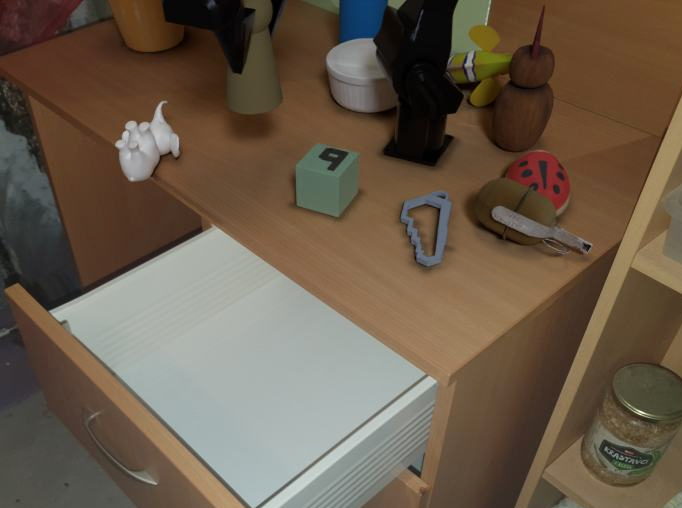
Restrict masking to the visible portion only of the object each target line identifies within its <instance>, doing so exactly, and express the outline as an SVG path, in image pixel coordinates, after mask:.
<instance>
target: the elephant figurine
mask: <svg viewBox="0 0 682 508" xmlns="http://www.w3.org/2000/svg"><path fill="white" fill-rule="evenodd" d="M165 104H166V105H167V104H168V101H167V100H162V101H160V102H159V103H158V104H157V106H156V108H155V110H154V115H153V118H152V120H151V121H150V122H148V121H142V122H140V123H139V124H138V123H137V121H136V120H129V121H127V122H126V123H125V125H124V129H125V130H124V131H123V132H122V135H121V139H118V140H117V141H115V143H114V145H115V148H116V149H117V150H119V151H118V160H119V161H118V162H119V164H120V168H121V172H122V173H123V175H124V176H125V177H126V179H127V180H128V181H129V182H130V183H132V182H134V183H141V182H144V181H147V180H149V178H150V177H151V176H152V174H153V172H154V170H155V168H156V167H157V165H158V164H159V162H160V160H161V159H160V158H161V156H165V155H167V154H169V153H172V156H173V157H174V158H178V157H179V156H180V153H181V151H180V149H179V147H180V138H179V136H178V134H176V133H175V132H174V130H173V128H172V126H171V125H169V123H168V122H167V121H166V119H165V118H164V115H163V111H162V107H163V105H165Z"/></svg>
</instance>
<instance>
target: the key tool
mask: <svg viewBox="0 0 682 508" xmlns="http://www.w3.org/2000/svg"><path fill="white" fill-rule="evenodd" d="M442 197H444V198H442ZM452 203H453V202H452V201H450V195H449V193H448V192H447V191H443V190H434V191H432V192H430V193H428V194H425V195H421V196H418V197H415V198H411V199H408V200H405V201H404V204H403V208H402V211H401V215H400V222H401V223H403V224H406V225H407V229H406V230H407V232H406V233H407V236H409V237H410V244H411V245H413V246H415V257H416V262H417V263H419V264H421V265H423V266H425V267H431V266H434V265H438V264H441V263H442V259H443V257H444V254H445V253H444V252H445V246H446V245H447V241H448V236H449V228H448V226H449V223H450V217H451V213H452V208H453V207H452V205H453V204H452ZM424 205H429V206H431V207H435V208H436V209H437V208H438V209H440V211H439V219H438V227H437V235H436V236H437V237H436V244H435V254H434V255H431V256H427V255H425V251H424V250H423V246H422V244H421V243H422V242H421V237H420V236H419V229H417V228H416V227H415V226H414V225H415V218H414V217H410V216H408V213H409V210H411V209H414V208H416V207H419V206H424Z"/></svg>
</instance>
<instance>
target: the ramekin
mask: <svg viewBox="0 0 682 508" xmlns="http://www.w3.org/2000/svg"><path fill="white" fill-rule="evenodd" d="M373 39H374V38H361V39H354V40H350V41H347V42H344V43H342V44H339V43H338V44H337V45H335V46H334V47H333V48H331V49H330V51H328V53H327V54H326V57H325V68H326V71H327V73H328V81H329V86H330V91H331V95H332V97H333V98H334V100H335V101H336V103H338V104H339V106H341V107H343V108H344V109H347V110H349V111H352V112H356V113H365V114H366V113H370V114H371V113H379V112H385V111H388V110H391V109H393V108H395V107H397V102H398V94H397V93H396V92H395V91H394V89H393V88H392V86H391V84H390V83H389V81H388V80H387V78H386V77H385V75H384V73H383V72H382V70H381V69H380V67H379V65H378V63H377V60H376V48H377V47H376V45H375V44H374V42H373Z"/></svg>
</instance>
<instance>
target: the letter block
mask: <svg viewBox="0 0 682 508" xmlns="http://www.w3.org/2000/svg"><path fill="white" fill-rule="evenodd" d="M294 167H295V168H294V169H295V196H296V197H295V199H296V206H297V207H300V208H303V209H306V210H310V211H313V212H317V213H321V214H324V215H328V216H332V217H335V218H340V216H341V215H342V214H343V212H344V211H345V210H346V208H348V206H349V205H350V203H351V202H352V201H353V200H354V199H355V197H356V196H357V195H358V193H359V171H360V153H359V152H356V151H352V150H348V149H344V148H340V147H336V146H332V145H328V144H324V143H319V142H316V143H315V144H314V145H313V146H312V147H311V149H309V151H308V152H307V153H306V154H305V155H303V157H302V158H301V159H300V160H299V161H298V162H297V163H296V165H294Z"/></svg>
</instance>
